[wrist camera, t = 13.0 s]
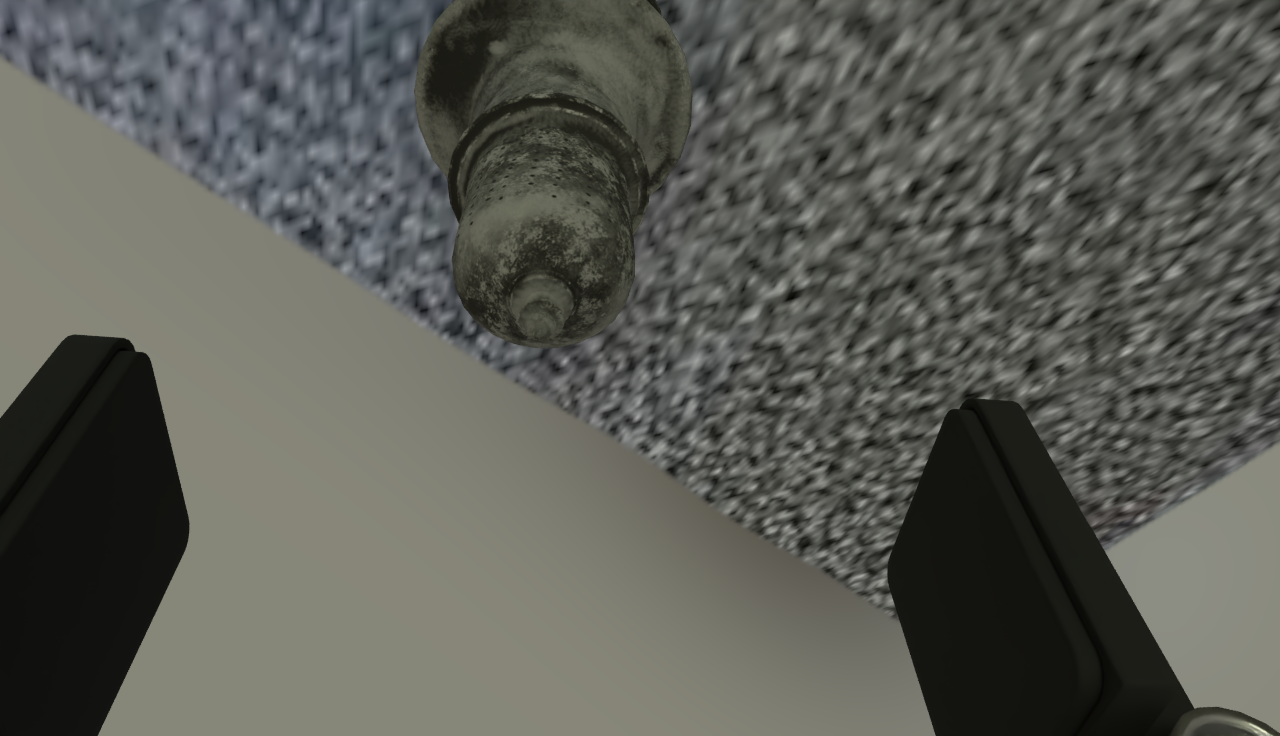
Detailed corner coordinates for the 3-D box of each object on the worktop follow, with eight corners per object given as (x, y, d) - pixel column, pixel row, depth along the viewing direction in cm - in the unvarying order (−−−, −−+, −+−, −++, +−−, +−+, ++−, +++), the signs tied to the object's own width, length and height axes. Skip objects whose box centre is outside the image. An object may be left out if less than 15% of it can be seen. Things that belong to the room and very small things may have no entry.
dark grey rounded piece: (689, 150, 25) (755, 464, 15) (466, 178, 25) (390, 506, 15) (667, -95, 21) (737, 111, 11) (407, -61, 21) (260, 171, 12)
